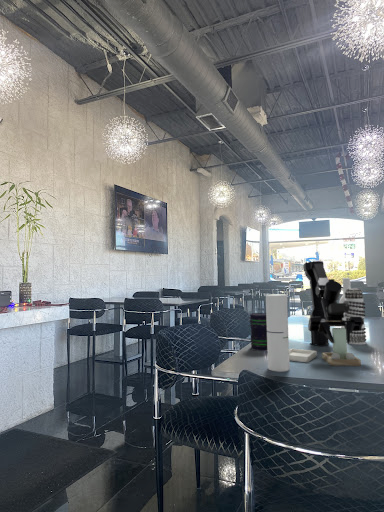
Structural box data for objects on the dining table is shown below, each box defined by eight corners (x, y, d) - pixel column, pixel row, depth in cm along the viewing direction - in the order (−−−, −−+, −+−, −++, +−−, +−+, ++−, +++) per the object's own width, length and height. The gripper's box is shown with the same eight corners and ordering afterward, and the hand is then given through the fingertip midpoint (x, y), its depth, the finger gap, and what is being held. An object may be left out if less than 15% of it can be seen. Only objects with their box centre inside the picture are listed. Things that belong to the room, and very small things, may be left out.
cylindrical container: (265, 366, 121) (263, 294, 123) (285, 365, 122) (282, 294, 123) (271, 371, 114) (269, 295, 116) (292, 371, 115) (290, 295, 116)
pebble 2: (344, 361, 122) (344, 353, 122) (348, 360, 124) (347, 351, 124) (353, 363, 120) (352, 354, 120) (356, 361, 122) (356, 353, 122)
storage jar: (274, 350, 147) (273, 315, 148) (250, 350, 148) (249, 315, 149) (272, 346, 156) (271, 312, 157) (250, 345, 158) (249, 312, 159)
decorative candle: (341, 343, 161) (339, 288, 162) (350, 340, 167) (347, 288, 168) (362, 345, 154) (359, 289, 156) (370, 342, 160) (367, 288, 162)
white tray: (291, 353, 141) (291, 348, 141) (316, 356, 135) (316, 350, 135) (281, 359, 131) (280, 354, 131) (307, 362, 125) (307, 356, 126)
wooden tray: (322, 357, 132) (322, 352, 132) (349, 358, 131) (349, 352, 131) (330, 365, 120) (330, 359, 121) (360, 366, 119) (360, 360, 119)
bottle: (358, 337, 176) (355, 277, 178) (358, 339, 168) (355, 277, 170) (340, 336, 179) (338, 278, 181) (340, 338, 172) (337, 278, 174)
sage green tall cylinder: (331, 359, 126) (329, 328, 127) (337, 357, 129) (335, 327, 130) (343, 361, 123) (342, 330, 123) (349, 359, 126) (348, 328, 126)
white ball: (329, 361, 123) (329, 353, 123) (333, 360, 125) (333, 351, 125) (337, 363, 121) (337, 354, 121) (341, 361, 123) (341, 352, 123)
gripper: (308, 295, 132) (316, 329, 121) (360, 294, 130) (373, 328, 118) (305, 314, 140) (312, 347, 128) (354, 313, 137) (366, 347, 126)
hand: (340, 342), depth 125 cm, fingers open, 5 cm apart
